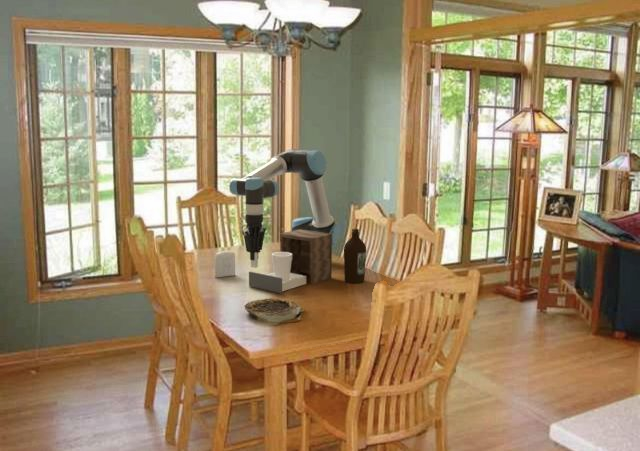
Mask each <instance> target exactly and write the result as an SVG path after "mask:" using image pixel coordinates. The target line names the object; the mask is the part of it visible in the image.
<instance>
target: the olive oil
mask: <svg viewBox="0 0 640 451" xmlns="http://www.w3.org/2000/svg"><path fill="white" fill-rule="evenodd" d="M359 229H360V228H352V229H351V231H352V232H351V237H350V238H349V239H348V241H346V242H345V244H344V247H343V263H344V264H343V265H344V270H343V271H344V276H343V277H344V282H345V283H349V284H362V283H364V282H365V277H366V260H367V245H366V243H365V242H363V240H362V239H361V238H360V232H359V231H360V230H359Z"/></svg>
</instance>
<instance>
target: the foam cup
mask: <svg viewBox="0 0 640 451" xmlns="http://www.w3.org/2000/svg"><path fill="white" fill-rule="evenodd" d="M271 261H272V268H273V269H272V270H273V272H274V277H279V278H282V282H286V281H289V277H290V269H291V262H292V253H289V252H280V251H278V252H272V253H271Z"/></svg>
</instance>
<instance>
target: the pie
mask: <svg viewBox="0 0 640 451" xmlns="http://www.w3.org/2000/svg"><path fill="white" fill-rule="evenodd" d="M243 307H244V309H245V311H246V312H247V313H248V315H249V317H250V318H251V319H253V320H254V321H255V320H256V321H257V322H263V324H270V325H269V327H270V326H276V325H279V324H280V323H283V322H285V324H287V323H289V322H288V321H290V320H291V319H295V318H296V319H297V322H298V321H301V317H302V314H301V313H302V312H305V310H306V309H305V308H302V306H300V305H298V304H297V302H295V301H290V300H286V299H283V298H281V299H280V298H274V297H272V298H264V299H256V300H251V301H248V302H247V303H245V305H244V306H243ZM254 325H257V323H254Z"/></svg>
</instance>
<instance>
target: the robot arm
mask: <svg viewBox="0 0 640 451" xmlns="http://www.w3.org/2000/svg"><path fill="white" fill-rule="evenodd" d="M326 171H327V158H326V156H325V155H324V153H323V152H322V151H320V150H315V149H295V148H294V149H287V150H285V151H282V152H280V153H277V154H276V155H274V156H272V158H270V161H268V162H267V163H265V164H263V165H262V166H260V167H258V168H257V169H255V170H253V171H252V172H250V173H248V174H246V175H245V176H243V177H241V178H239V177H236V178H232V179H231V180H230V183H229V185H228V186H229V192H230V194H231V195H234V196H239V197H240V196H244V197H245V213H246V214H245V223H246V227H245V228H246V229H245V230H242V231H241V232H242V235H243V239H244V244H245V249H246V252H247V253H249V259H250V267H251V268H254V269H255V268H256V269H257V268H259V266H258V263H259V262H258V261H259V253H261V251H262V250H263V245H264V240H265V239H264V238H265V234H266V231H267V228H266V227H264V226H263V222H264V214H263V213H264V199H267V198H268V199H269V198H274V197H276V196H277V195H278V194H279V192H280V186H279V184H278V182H277V181H275V180H273V179H274V178H276V177H277V176H282V175H284V174H286V173H287V174H288V173H291V174H299V176H300V179H301V180H302V181H304V182H305V188H306V192H307V195H308V200H309V204H310V207H311V212H312V217H311V216H307V217H305V216H304V217H297V218H294V219H293V220H292V222H291V231H294V230H299V229H302V230H309V231H316V232H322V233H329V234H332V246H333V245H335V244H336V243H337V242H338V240H339V238H340V235H341V225H340V223H338V222H335V219H334V216H332V215H331V213H330V209H329V204H328V200H327V195H326V192H325V190H326V189H325V186H324V183H323V176H324V175H325V173H326Z"/></svg>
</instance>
